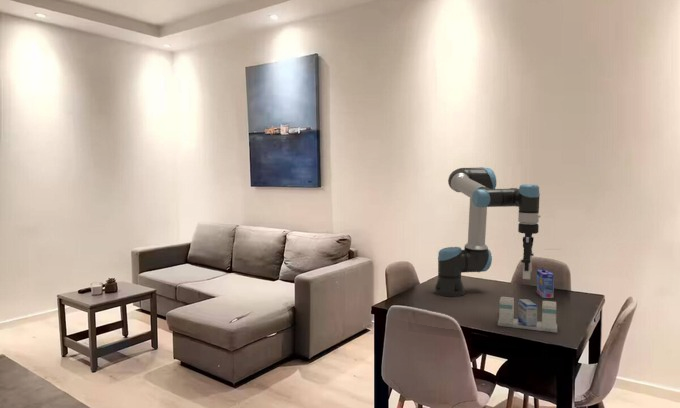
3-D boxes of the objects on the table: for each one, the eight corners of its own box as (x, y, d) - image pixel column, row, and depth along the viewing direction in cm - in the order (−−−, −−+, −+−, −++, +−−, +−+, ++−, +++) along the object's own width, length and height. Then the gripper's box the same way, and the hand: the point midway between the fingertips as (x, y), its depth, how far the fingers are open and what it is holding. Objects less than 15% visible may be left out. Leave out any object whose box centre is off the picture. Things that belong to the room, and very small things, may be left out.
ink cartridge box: (535, 292, 238) (536, 265, 237) (547, 293, 238) (547, 265, 237) (542, 298, 229) (542, 269, 227) (553, 298, 228) (554, 269, 227)
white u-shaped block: (497, 325, 189) (498, 300, 189) (499, 319, 197) (500, 296, 196) (557, 332, 180) (557, 307, 179) (556, 326, 187) (557, 301, 187)
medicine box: (517, 319, 192) (517, 299, 192) (527, 319, 193) (528, 298, 192) (526, 326, 185) (526, 304, 184) (537, 325, 185) (537, 304, 184)
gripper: (537, 227, 173) (536, 283, 175) (539, 220, 196) (538, 269, 198) (516, 226, 176) (515, 281, 178) (520, 219, 199) (519, 268, 201)
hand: (527, 275), depth 188 cm, fingers open, 13 cm apart
